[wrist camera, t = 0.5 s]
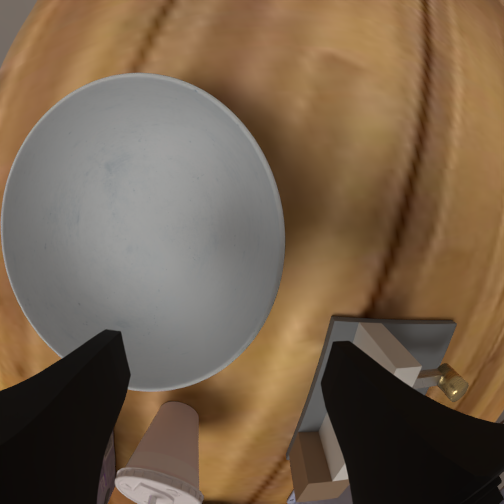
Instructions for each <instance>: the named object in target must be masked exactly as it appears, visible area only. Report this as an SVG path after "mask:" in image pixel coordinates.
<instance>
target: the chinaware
mask: <svg viewBox="0 0 504 504" xmlns="http://www.w3.org/2000/svg"><path fill="white" fill-rule="evenodd" d="M1 241H2V250H3V257H4V262H5V266H6V270H7V274H8V278H9V281H10V284H11V286H12V289H13V292H14V294H15V296H16V299H17V301H18V303H19V305H20V307H21V309H22V311H23V312H24V314H25V316H26V317H27V319H28V321H29V322H30V324H31V325H32V327H33V328H34V329H35V331H36V332H37V333H38V334H39V336H40V337H41V338H42V339H43V340H44V342H45V343H46V344H47V345H48V346H49V347H50V348H51V349H52V350H53V351H54V352H55V353H56V354H58V355H59V356H60V357H61V358H64V357H65V356H67V355H68V354H69V353H71V352H72V351H74V350H75V349H77V348H78V347H80V346H81V345H82V344H84V343H85V342H87V341H88V340H90V339H91V338H93V337H94V336H95V335H97V334H98V333H100V332H102V331H103V330H105V329H109V330H115V331H121V333H122V338H123V343H124V348H125V352H126V356H127V361H128V365H129V369H130V373H131V377H130V381H129V385H128V389H129V390H136V391H151V392H152V391H167V390H174V389H179V388H183V387H187V386H190V385H193V384H196V383H198V382H201V381H203V380H205V379H207V378H209V377H211V376H213V375H215V374H216V373H218V372H219V371H221V370H222V369H224V368H225V367H227V366H228V365H229V364H230V363H232V362H233V361H234V360H235V359H236V358H237V357H239V356H240V355H241V354H242V353H243V352H244V350H245V349H246V348H247V347H248V346H249V345H250V343H251V342H252V341H253V340H254V338H255V337H256V336H257V334H258V333H259V331H260V329H261V328H262V326H263V325H264V323H265V321H266V319H267V317H268V315H269V313H270V311H271V308H272V306H273V304H274V301H275V298H276V295H277V292H278V289H279V285H280V281H281V277H282V271H283V265H284V255H285V226H284V216H283V209H282V204H281V199H280V195H279V191H278V188H277V184H276V181H275V179H274V176H273V173H272V171H271V168H270V166H269V164H268V161H267V159H266V157H265V155H264V154H263V152H262V150H261V148H260V146H259V145H258V143H257V142H256V140H255V138H254V137H253V136H252V134H251V133H250V131H249V130H248V129H247V128H246V126H245V125H244V124H243V123H242V122H241V120H240V119H239V118H238V117H237V116H236V115H235V114H234V113H233V112H232V111H231V110H230V109H229V108H227V107H226V106H225V105H224V104H223V103H221V102H220V101H219V100H218V99H216V98H215V97H213V96H212V95H210V94H209V93H207V92H205V91H204V90H202V89H200V88H198V87H196V86H194V85H192V84H190V83H187V82H185V81H182V80H179V79H176V78H173V77H169V76H164V75H159V74H151V73H127V74H119V75H114V76H110V77H106V78H102V79H99V80H96V81H94V82H91V83H89V84H86V85H84V86H82V87H80V88H78V89H77V90H75V91H73V92H72V93H70V94H68V95H67V96H65V97H64V98H63V99H61V100H60V101H59V102H58V103H56V104H55V105H54V106H53V107H52V108H51V109H49V110H48V111H47V112H46V113H45V114H44V116H43V117H42V118H41V119H40V120H39V121H38V122H37V123H36V125H35V126H34V127H33V129H32V130H31V131H30V133H29V134H28V136H27V137H26V139H25V141H24V142H23V144H22V146H21V148H20V149H19V151H18V153H17V155H16V158H15V160H14V162H13V165H12V167H11V170H10V173H9V176H8V179H7V183H6V187H5V191H4V197H3V203H2V212H1Z"/></svg>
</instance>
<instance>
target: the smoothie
mask: <svg viewBox="0 0 504 504" xmlns="http://www.w3.org/2000/svg"><path fill="white" fill-rule="evenodd" d="M198 438H199V417H198V414H197V412H196V411H195V410H194V409H193V408H192V407H190V406H188V405H186V404H184V403H181V402H174V401H173V402H167V403H164V404H163V405H162V406H161V407H160V409H159V411H158V412H157V414H156V416H155V418H154V419H153V421H152V423H151V424H150V426H149V428H148V429H147V431H146V433H145V434H144V436H143V438H142V439H141V441H140V443H139V445H138V446H137V448H136V450H135V451H134V453H133V455H132V456H131V458H130V460H129V461H128V463H127V465H126V467H125V468H121V469H120V470H118V472H117V477H116V479H115V486H116V487H117V489H118V490H119V491H120V492H121V493H122V494H123V495H125V496H126V497H127V498H129V499H131V500H132V501H134V502H136V503H138V504H202V501H203V498H204V496H203V494H202V493H201V491H200V490H199V452H198Z"/></svg>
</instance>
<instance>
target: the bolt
mask: <svg viewBox="0 0 504 504" xmlns="http://www.w3.org/2000/svg"><path fill="white" fill-rule="evenodd" d="M436 385H438V387H439V388H440V389H441V390H442V391H443V392H444V393H445V395H446V396H447V397H448V398H449V399H450V400H451V401H452V402H455V401H457V400H459V399H460V398H461V397H462V396H463V395H464V394H465V392H466V391H467V389H468V383H467V382H466V381H465V380H464V379H463V378H462V377H461V376H460V375H459V374H458V373H457V372H456V371H455V370H454V369H453V368H452V367H451V366H450V365H449V364H447V363H444V364H442V365H440V366H439V367H438V368H436V369H428V370H420V372H419V374H418V376H417V379H416V381H415V383H414V385H413V387H412V388H414V389H418V388H425V387H431V386H436Z"/></svg>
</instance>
